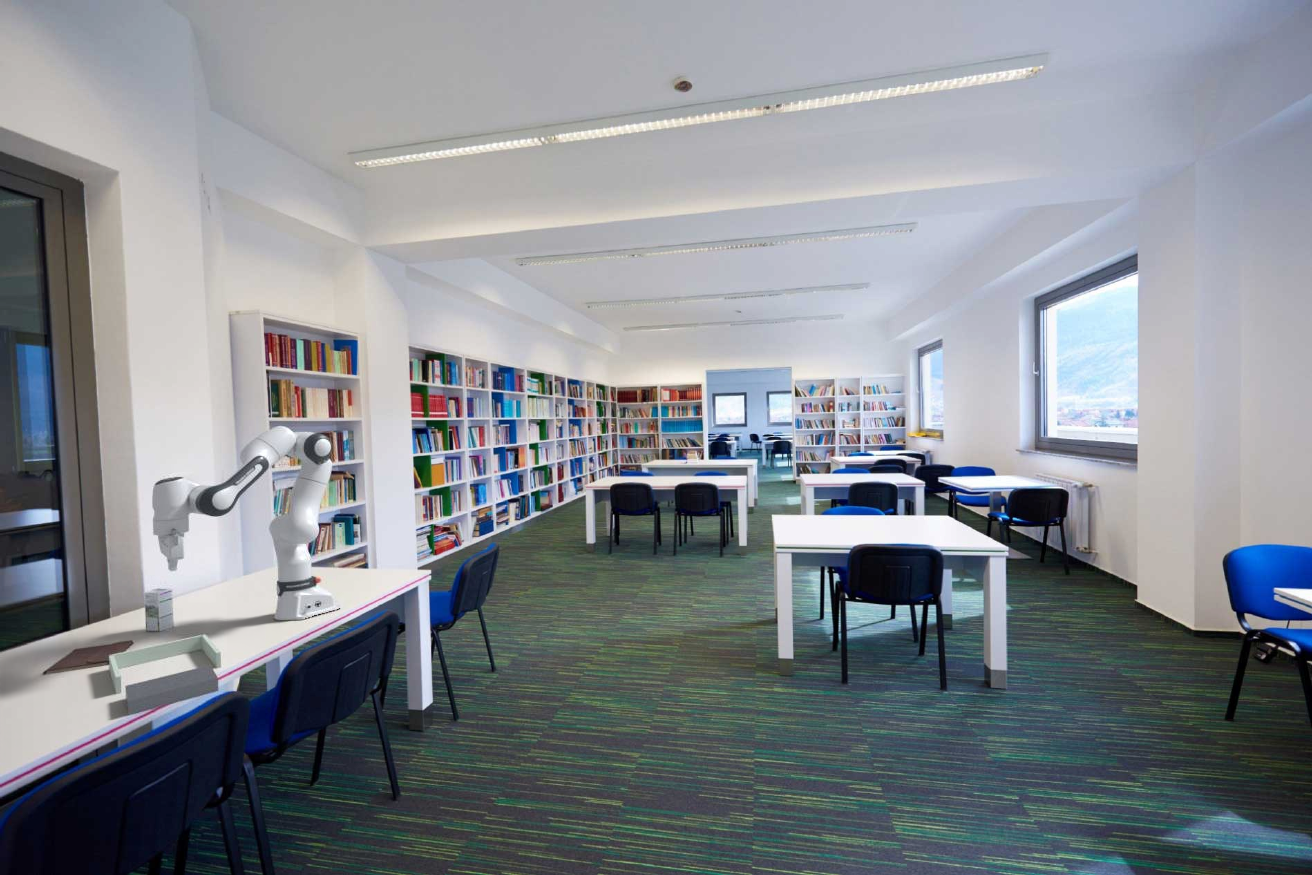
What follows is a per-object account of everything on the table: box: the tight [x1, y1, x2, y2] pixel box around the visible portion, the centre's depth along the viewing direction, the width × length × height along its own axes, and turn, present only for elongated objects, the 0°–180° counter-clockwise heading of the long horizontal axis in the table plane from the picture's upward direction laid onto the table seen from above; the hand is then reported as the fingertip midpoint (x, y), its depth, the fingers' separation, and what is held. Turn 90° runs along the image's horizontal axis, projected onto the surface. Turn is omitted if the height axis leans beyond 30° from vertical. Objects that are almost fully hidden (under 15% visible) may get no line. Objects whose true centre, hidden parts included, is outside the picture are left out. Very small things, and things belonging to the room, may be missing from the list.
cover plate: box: [124, 664, 219, 716], centre depth 153 cm, size 18×13×4 cm
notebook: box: [42, 639, 134, 676], centre depth 180 cm, size 15×20×2 cm
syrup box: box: [144, 587, 175, 632], centre depth 207 cm, size 6×6×14 cm
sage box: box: [108, 633, 222, 695], centre depth 171 cm, size 23×24×4 cm
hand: (172, 570), depth 183 cm, fingers closed
